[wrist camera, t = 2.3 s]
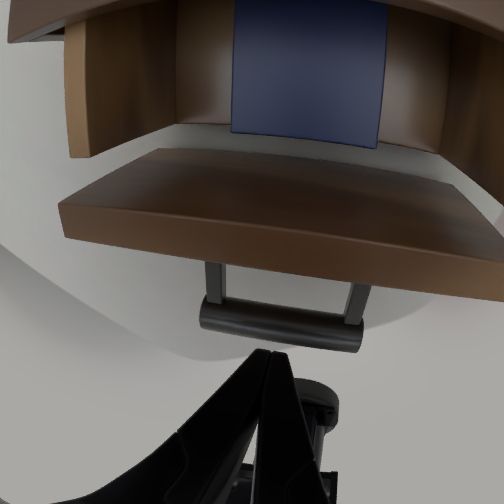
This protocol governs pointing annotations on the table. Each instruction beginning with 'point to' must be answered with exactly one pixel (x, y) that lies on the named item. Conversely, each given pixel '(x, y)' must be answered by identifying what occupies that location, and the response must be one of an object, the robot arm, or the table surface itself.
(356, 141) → the card deck
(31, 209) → the table surface
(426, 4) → the cabinet
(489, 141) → the drawer
